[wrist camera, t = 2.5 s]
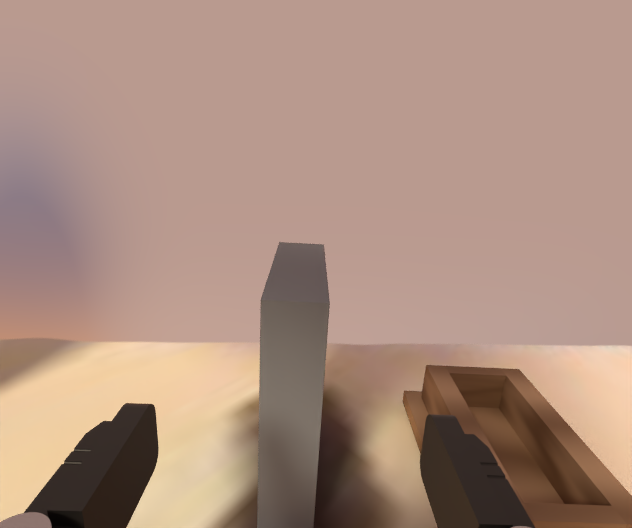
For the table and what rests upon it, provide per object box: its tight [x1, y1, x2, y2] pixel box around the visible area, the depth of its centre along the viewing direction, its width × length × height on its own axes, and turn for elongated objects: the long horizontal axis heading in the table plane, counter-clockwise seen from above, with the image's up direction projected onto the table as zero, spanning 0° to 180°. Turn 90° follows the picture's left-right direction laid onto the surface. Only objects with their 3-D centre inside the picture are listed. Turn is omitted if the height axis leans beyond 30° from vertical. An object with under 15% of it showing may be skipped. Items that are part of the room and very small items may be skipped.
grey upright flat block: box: [257, 242, 330, 528], centre depth 24 cm, size 10×3×14 cm, turn 0°
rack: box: [403, 365, 632, 528], centre depth 26 cm, size 15×10×4 cm, turn 0°
